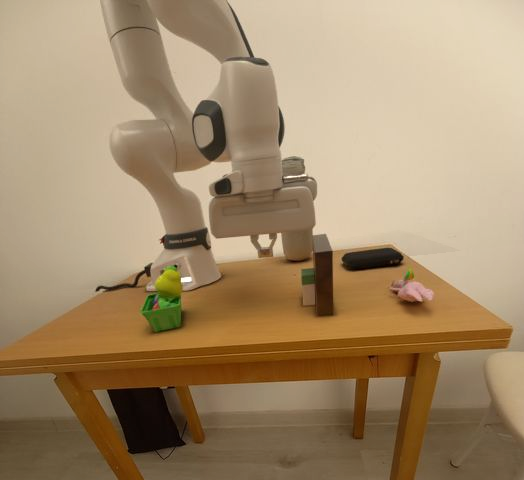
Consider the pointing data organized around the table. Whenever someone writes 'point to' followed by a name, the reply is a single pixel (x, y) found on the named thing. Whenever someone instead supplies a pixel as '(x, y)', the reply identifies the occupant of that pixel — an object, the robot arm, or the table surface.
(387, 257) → the carrying case
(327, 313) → the walnut board
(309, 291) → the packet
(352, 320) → the table surface
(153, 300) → the fruit basket
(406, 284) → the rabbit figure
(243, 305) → the table surface
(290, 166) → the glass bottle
